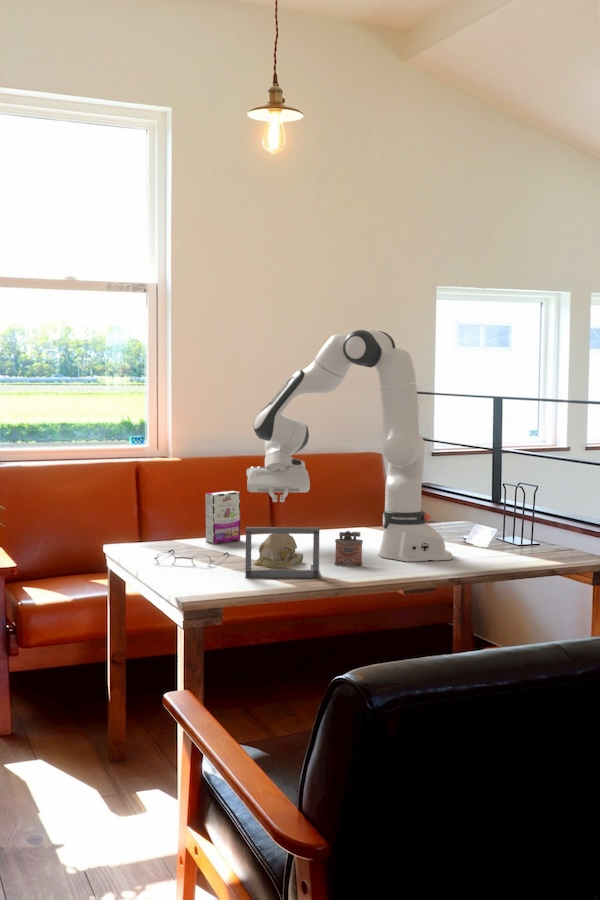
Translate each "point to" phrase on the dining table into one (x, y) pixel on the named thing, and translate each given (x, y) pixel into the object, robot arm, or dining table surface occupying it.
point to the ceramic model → (279, 552)
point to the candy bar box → (222, 517)
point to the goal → (283, 573)
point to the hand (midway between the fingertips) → (278, 501)
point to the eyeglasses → (187, 557)
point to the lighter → (348, 549)
